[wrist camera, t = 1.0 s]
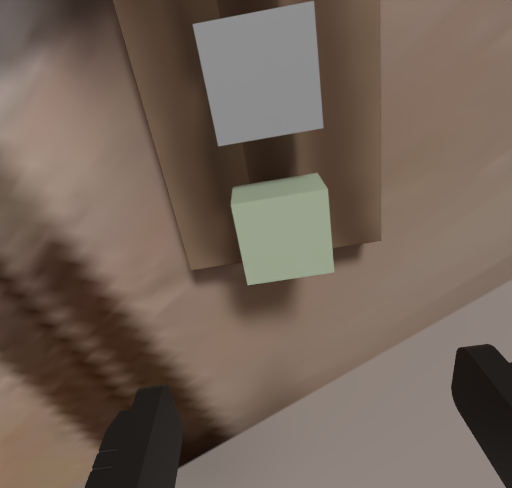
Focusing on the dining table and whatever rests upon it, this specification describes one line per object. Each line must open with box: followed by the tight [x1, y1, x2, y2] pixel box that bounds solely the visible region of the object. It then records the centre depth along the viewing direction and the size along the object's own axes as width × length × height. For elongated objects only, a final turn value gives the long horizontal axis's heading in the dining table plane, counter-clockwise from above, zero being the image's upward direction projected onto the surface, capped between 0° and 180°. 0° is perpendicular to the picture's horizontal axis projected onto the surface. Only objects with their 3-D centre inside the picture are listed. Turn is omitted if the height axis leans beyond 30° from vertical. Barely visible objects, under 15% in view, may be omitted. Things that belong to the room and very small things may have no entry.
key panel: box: [113, 0, 381, 270], centre depth 22 cm, size 14×24×3 cm, turn 9°
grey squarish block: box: [193, 1, 323, 146], centre depth 18 cm, size 5×5×6 cm
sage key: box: [231, 173, 334, 285], centre depth 22 cm, size 5×5×6 cm
